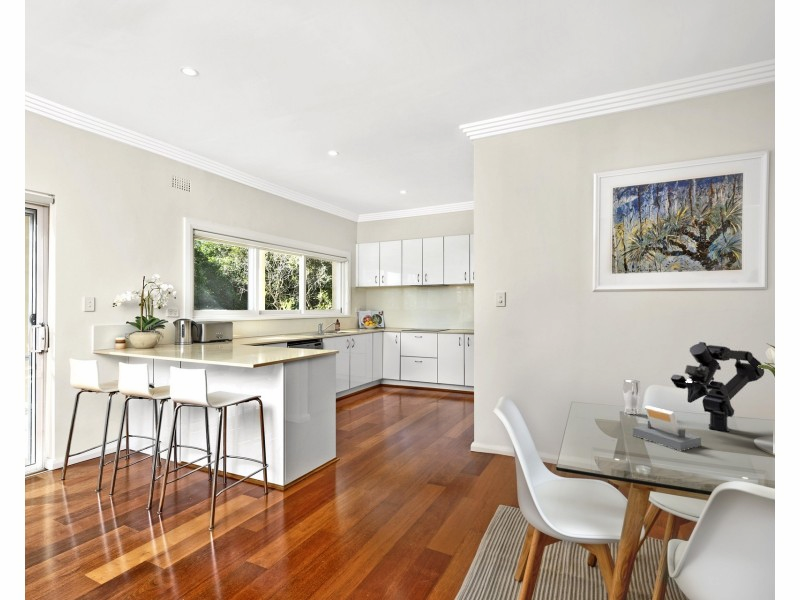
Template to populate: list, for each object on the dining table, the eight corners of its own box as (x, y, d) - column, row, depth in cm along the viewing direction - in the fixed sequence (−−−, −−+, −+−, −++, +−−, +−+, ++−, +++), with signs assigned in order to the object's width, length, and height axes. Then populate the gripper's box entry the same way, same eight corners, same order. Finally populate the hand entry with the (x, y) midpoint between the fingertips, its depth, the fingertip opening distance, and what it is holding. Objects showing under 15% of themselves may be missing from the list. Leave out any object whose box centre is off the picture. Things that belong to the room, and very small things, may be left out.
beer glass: (619, 412, 199) (619, 380, 199) (630, 410, 202) (630, 379, 202) (632, 416, 193) (632, 383, 193) (643, 414, 195) (643, 381, 195)
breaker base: (653, 431, 172) (653, 416, 172) (700, 446, 155) (701, 429, 155) (632, 435, 166) (633, 420, 166) (680, 451, 150) (680, 434, 150)
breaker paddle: (654, 424, 166) (647, 405, 164) (680, 432, 157) (673, 411, 155) (651, 427, 165) (644, 408, 163) (677, 435, 156) (670, 414, 154)
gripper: (673, 354, 177) (656, 384, 173) (723, 361, 160) (706, 394, 156) (685, 372, 181) (668, 401, 176) (735, 380, 164) (718, 412, 159)
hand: (688, 401), depth 167 cm, fingers closed
